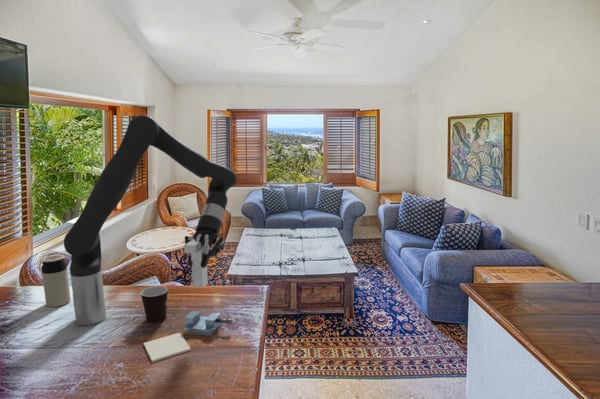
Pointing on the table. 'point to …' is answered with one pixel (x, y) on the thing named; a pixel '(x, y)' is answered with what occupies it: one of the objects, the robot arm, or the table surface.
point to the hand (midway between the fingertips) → (196, 266)
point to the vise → (203, 323)
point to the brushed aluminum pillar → (197, 263)
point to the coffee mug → (155, 303)
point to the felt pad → (166, 347)
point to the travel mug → (55, 280)
